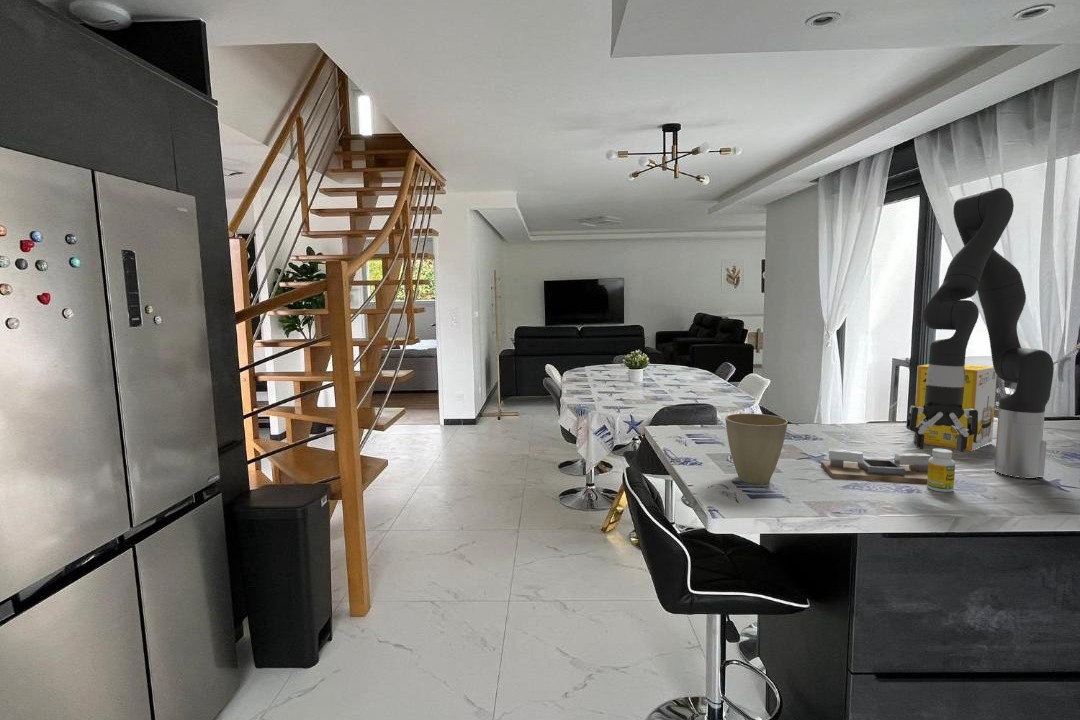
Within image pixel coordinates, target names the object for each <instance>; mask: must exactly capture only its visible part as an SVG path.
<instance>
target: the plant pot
mask: <svg viewBox="0 0 1080 720" xmlns="http://www.w3.org/2000/svg"><path fill="white" fill-rule="evenodd" d="M724 420H725V429H726V434H727V435H726V436H727V441H728V447H729V450H730V454H731V458H732V462H733V465H734V468H735V471H736V474H737V476H738V477H737V478H738V479H739V480H740V481H742V482H744V483H748V484H753V485H762V484H763V485H764V484H767V483H769V482H770V480H771V479H772V477H773V474H774V472H775V469H776V468H777V464H778V462H779V459H780V456H781V452H782V449H783V446H784V442H785V438H786V432H787V427H788V423H789V421H788V420H787V419H786V418H784V417H781V416H777V415H773V414H772V415H771V414H764V413H749V412H748V413H747V412H746V413H731V414H729V415H726V416H724Z"/></svg>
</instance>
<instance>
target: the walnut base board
mask: <svg viewBox="0 0 1080 720" xmlns="http://www.w3.org/2000/svg"><path fill="white" fill-rule="evenodd" d="M820 466H821V467H822V469H824V470H825V472H826V473H827V474H828V475H829V476H830V477H831V478H832V479H843V480H844V479H845V480H859V481H861V480H862V481H874V482H875V481H876V482H894V483H907V484H908V483H910V484H926V485H927V477H928V472H917V471H914V470H912V469H910V468H909V465H901V466H902V467H903V468H904V469H905V476H899V475H881V474H868V473H866V472H865V471H864V470H863V469H862V468H861V467H859V466H858V462H844V463H843V468H836V467H831V466H830V461H820Z"/></svg>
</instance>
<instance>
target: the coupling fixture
mask: <svg viewBox="0 0 1080 720" xmlns="http://www.w3.org/2000/svg"><path fill="white" fill-rule="evenodd" d="M931 457H932V455H930V454H928V453H925V452H923V453H921V452H920V453H917V452H916V453H915V452H914V453H909V452H908V453H905V452H904V453H903V452H902V453H901V452H900V453H897V452H895V453H894V459H893V460H892V459H878V458H877V459H876V458H875V459H874V458H864V454H863V451H858V450H857V451H856V450H845V449H834V448H828V460H829V462H830V466H831V467H836V468H843V463H845V462H848V463H858V466H859V467H861V468H862V469H863V470H864V471H865V472H866V473H868V474H881V475H899V476H905V469H904V468H903V467H902V466H909V468H910V469H912V470H914V471H917V472H928V460H929V458H931Z"/></svg>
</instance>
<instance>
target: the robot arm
mask: <svg viewBox="0 0 1080 720" xmlns="http://www.w3.org/2000/svg"><path fill="white" fill-rule="evenodd" d="M1014 207H1015V205H1014V198H1013V196H1012V194H1011V193H1010V192H1009V190H1007V189H1006V188H1004V187H994V188H990V189H989V188H988V189H986V190H983V191H978V192H976V193H972V194H968V195H964V196H961V197H959V198H957V199H956V200H955V202H954V205H953V212H952V213H953V218H954V222H955V225H956V228H957V231H958V234H959V236H960V239H961V241H962V245H963V246H962V248H961V249H959V251H958V252H957V253H956V254H955V256H954V257H953V258H951V261H950V263H949V265H948V266H947V268H946V269H947V270H946V273H945V275H944V278H943V282H942V283H941V285H940V287H939V288H937V291H936V292H935V293H934V294H933V296H932V297H931V298H930V299H929V301H928V302H927V304H926V305H925V307H924V310H923V314H922V320H923V323H924V325H925V326H926V327H928V329H931V330H944V331H945V330H946V331H947V330H949V331H955V332H954V333H953V335H952V336H951V337H949V338H943V339H935V340H933V341H931V343H930V345H929V354H928V355H929V356H928V359H929V360H928V364H929V366H928V370H927V377H926V390H925V404H924V406H923V407H915V405H909V406H908V411H907V413H908V414H907V419H906V426H905V427H906V429H907V430H909V431H910V432H913V433H914V432H915V440H914V441H913V442H914V443H913V444H914V446H915V447H916V448H917V449H918V450H924V446H925V445H924V444H925V443H924V435H923V433H924V432H925V431H926V430H927V429H928V428H930V427H931V426H932V425H933V424H934V425H936V426H942V425H945V426H953V427H954V428H955V429H956V431H957V432H958V433H959V435H957V446H956V451H957V452H959V453H963V452H964V451H966V448H967V438H968V436H970V435H976V434H977V433H978V411H977V410H974V409H972V408H969V409H963V408H962V404H963V395H964V385H965V365H966V354H967V348H968V343H969V341H970V339H971V335H972V333H973V330H974V329H975V327H976V324H977V322H978V319H979V313H980V310H979V307H978V305H977V304H976V303H975V302H974V301H972V300H969V298H972V297H973V296H975V294H976V293H977V295H978V298H979V301H980V305H981V308H982V312H983V315H984V320H985V324H986V329H987V334H988V338H989V339H988V340H989V346H990V355H991V361H992V367H994V370H995V372H996V374H997V377H998V378H1000V379H1001V380H1002V381H1004V382H1009V383H1013V384H1016V388H1015V390H1014V392H1013V393H1011V394H1009V395H1003V396H1001V397H1000V398H999V402H998V414H997V416H998V417H997V429H996V430H997V431H996V440H995V441H996V443H995V445H996V446H995V457H994V470H995V471H996V472H995V471H994V472H995V473H997V472H999V473H1002V474H1007V475H1012V476H1019V477H1037V476H1044V477H1045V468H1046V456H1047V455H1046V454H1047V442H1046V441H1045V440H1044V429H1045V428H1044V426H1045V413H1046V406H1047V405H1048V402H1049V400H1050V397H1051V393H1052V386H1053V385H1052V384H1053V379H1054V368H1055V367H1054V366H1055V365H1054V361H1053V358H1052V355H1050V354H1049V352H1048V351H1045V350H1043V349H1038V348H1036V349H1035V348H1024V347H1022V345H1021V343H1020V340H1019V336H1018V329H1017V328H1018V323H1019V320H1020V317H1021V315H1022V313H1023V311H1024V308H1025V304H1026V301H1027V294H1026V290H1025V286H1024V283H1023V279H1022V275H1021V273H1020V271H1019V269H1017V267H1016V266H1014V265H1013V263H1011V262H1010V261H1009V260H1008V259H1006V258H1005V257H1004V256H1002V255H1001V254H1000V253H999V252H997V250H995V247H996V245H997V244H998V242H999V241H1000V239H1001V237H1002V235H1003V233H1004V232H1005V230H1006V227H1007V226H1008V224H1009V222H1010V220H1011V218H1012V216H1013V212H1014V209H1015V208H1014ZM965 299H966V300H965ZM921 412H923V414H924V415H925V417H924V418H923V419H922V420H921V421H920V424H919V425H918V426H917V427H916V423H917V416H919V415H920V413H921ZM963 414H965V417H966V418H967V429H965V428H964V426H963V425H962V423H961V422H960V421H959V419H960V418H961V417H962V416H963ZM999 473H998V474H999ZM1002 474H1001V475H1002Z"/></svg>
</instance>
